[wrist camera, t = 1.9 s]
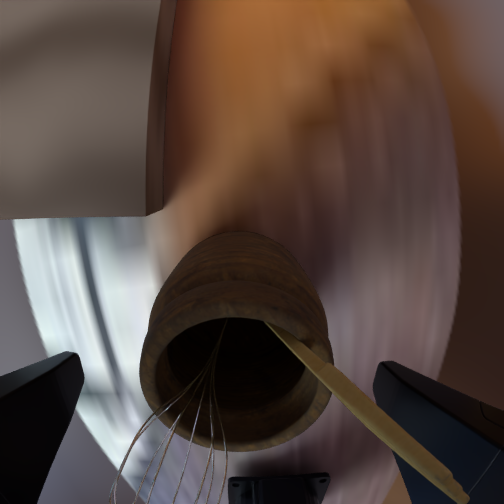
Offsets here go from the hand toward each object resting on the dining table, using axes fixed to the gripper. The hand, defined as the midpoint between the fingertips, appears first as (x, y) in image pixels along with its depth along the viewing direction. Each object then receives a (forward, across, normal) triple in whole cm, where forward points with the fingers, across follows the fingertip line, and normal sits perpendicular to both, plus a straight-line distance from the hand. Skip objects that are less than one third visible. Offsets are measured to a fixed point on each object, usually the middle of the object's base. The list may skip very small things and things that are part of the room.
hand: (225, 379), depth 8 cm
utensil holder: (+6, 0, 0) cm, 6 cm away
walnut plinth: (+6, +10, -11) cm, 16 cm away
